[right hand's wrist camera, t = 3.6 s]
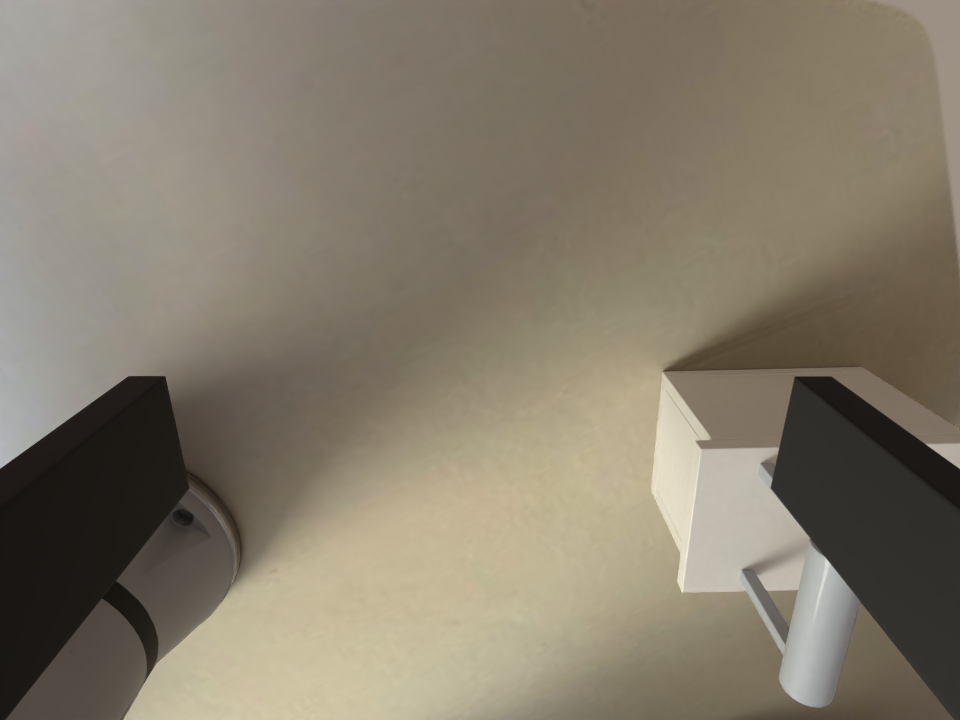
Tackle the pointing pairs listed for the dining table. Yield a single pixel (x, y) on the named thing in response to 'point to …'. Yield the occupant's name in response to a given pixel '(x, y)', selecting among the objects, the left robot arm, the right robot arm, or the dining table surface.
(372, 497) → the dining table surface
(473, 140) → the dining table surface
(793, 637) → the lid
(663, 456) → the chest
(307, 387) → the dining table surface
